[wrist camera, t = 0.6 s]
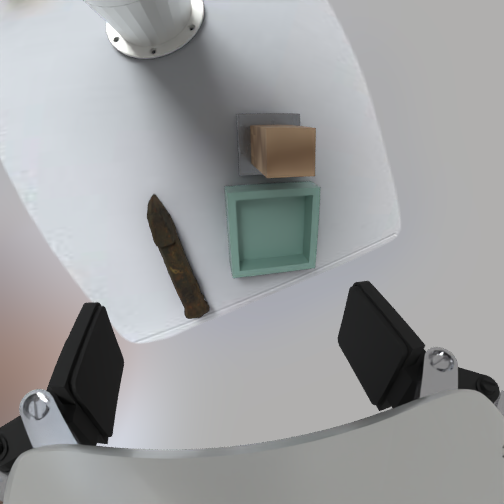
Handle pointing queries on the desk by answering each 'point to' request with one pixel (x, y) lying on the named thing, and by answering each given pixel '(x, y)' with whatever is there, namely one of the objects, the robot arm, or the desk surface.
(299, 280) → the desk surface
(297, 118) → the stud base
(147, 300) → the desk surface
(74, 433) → the robot arm
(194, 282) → the hand tool
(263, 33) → the desk surface
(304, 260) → the bin
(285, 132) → the brown wooden block
